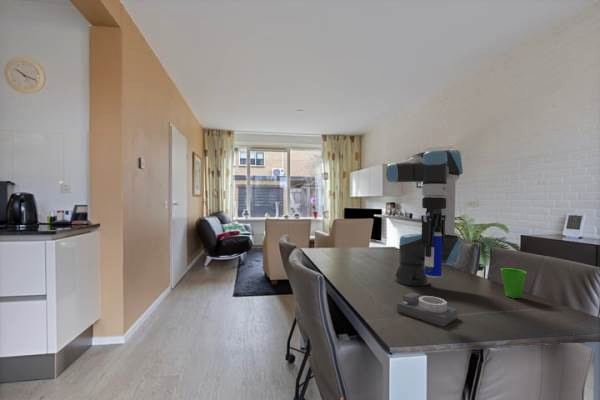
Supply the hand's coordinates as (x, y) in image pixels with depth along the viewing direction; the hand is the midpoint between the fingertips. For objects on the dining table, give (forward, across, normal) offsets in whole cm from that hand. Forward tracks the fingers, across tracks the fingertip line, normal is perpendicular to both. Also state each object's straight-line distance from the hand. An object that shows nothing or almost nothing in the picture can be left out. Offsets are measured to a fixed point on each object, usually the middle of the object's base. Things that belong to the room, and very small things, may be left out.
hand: (433, 265), depth 99 cm
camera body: (+17, 0, +2) cm, 18 cm away
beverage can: (+4, 0, 0) cm, 4 cm away
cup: (+18, +48, -12) cm, 53 cm away
